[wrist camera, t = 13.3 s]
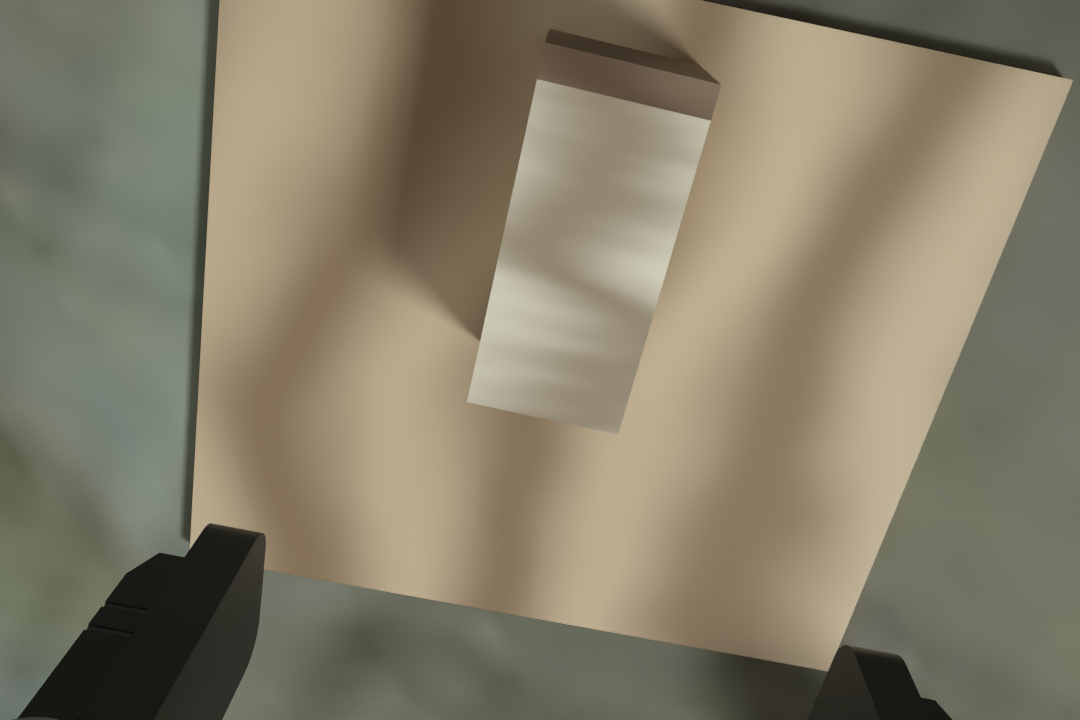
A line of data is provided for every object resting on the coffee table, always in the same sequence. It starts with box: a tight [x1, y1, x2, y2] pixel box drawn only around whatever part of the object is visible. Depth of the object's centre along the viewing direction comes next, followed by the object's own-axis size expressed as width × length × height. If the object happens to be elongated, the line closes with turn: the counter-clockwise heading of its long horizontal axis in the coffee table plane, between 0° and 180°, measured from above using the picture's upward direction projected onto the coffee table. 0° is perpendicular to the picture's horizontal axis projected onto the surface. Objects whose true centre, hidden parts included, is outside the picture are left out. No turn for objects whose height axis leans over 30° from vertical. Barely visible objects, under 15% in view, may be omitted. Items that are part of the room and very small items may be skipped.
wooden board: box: [190, 0, 1073, 671], centre depth 28 cm, size 22×20×1 cm
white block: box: [467, 29, 721, 435], centre depth 24 cm, size 4×4×9 cm
